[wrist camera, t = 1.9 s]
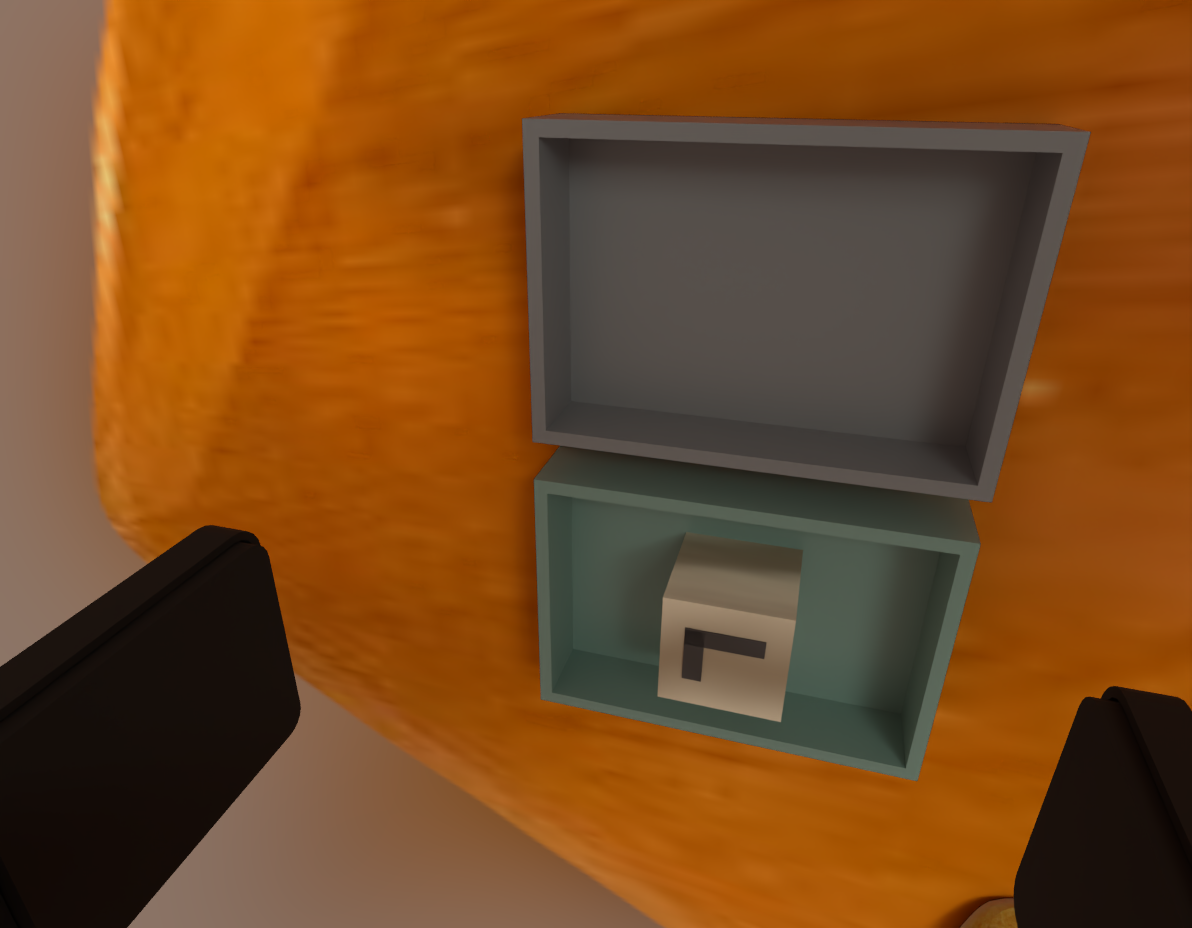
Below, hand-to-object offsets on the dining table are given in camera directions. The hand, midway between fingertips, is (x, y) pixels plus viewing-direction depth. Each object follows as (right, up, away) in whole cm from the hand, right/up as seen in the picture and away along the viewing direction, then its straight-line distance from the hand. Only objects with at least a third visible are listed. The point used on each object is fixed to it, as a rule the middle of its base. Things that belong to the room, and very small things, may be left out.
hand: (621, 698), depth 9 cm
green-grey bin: (+6, -2, +23) cm, 24 cm away
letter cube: (+5, -2, +22) cm, 23 cm away
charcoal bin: (+6, +9, +17) cm, 20 cm away
